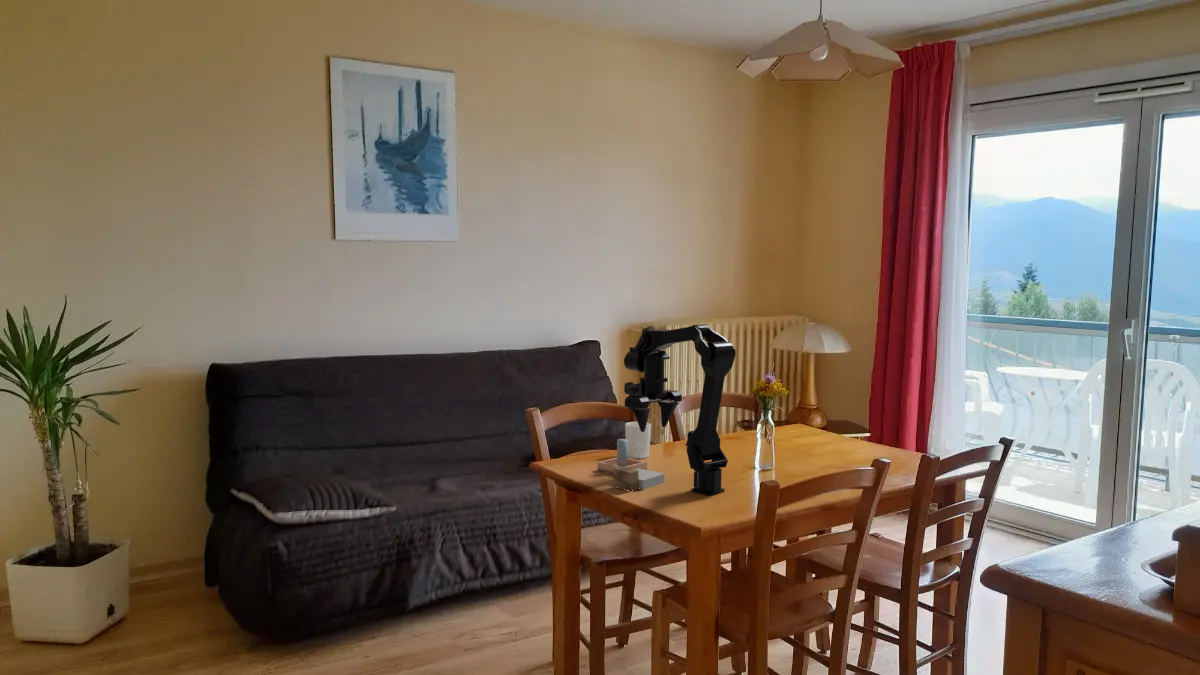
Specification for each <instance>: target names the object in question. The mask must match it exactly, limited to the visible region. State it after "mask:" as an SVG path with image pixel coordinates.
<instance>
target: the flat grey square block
mask: <svg viewBox="0 0 1200 675" xmlns="http://www.w3.org/2000/svg"><path fill="white" fill-rule="evenodd" d="M634 470H638V488H640V489H639V490H641V489H643V490H642V491H645V490H644V489H646V488H649V489H651V488H650V487H652V488H654V487H653V486H655V487H657V486H656V485H658V486H660V485H659V484H661V485H663V484H662V483H664V484H665V473H664V472H658V471H652V470H648V469H647V470H645V469H640V468H637V469H634ZM646 490H647V489H646Z"/></svg>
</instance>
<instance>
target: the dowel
mask: <svg viewBox="0 0 1200 675" xmlns="http://www.w3.org/2000/svg"><path fill="white" fill-rule="evenodd" d="M616 457H617V466H621V467H626V466H627V460H628V458H629V457H628V440H627V439H626V438H618V439H616Z"/></svg>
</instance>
